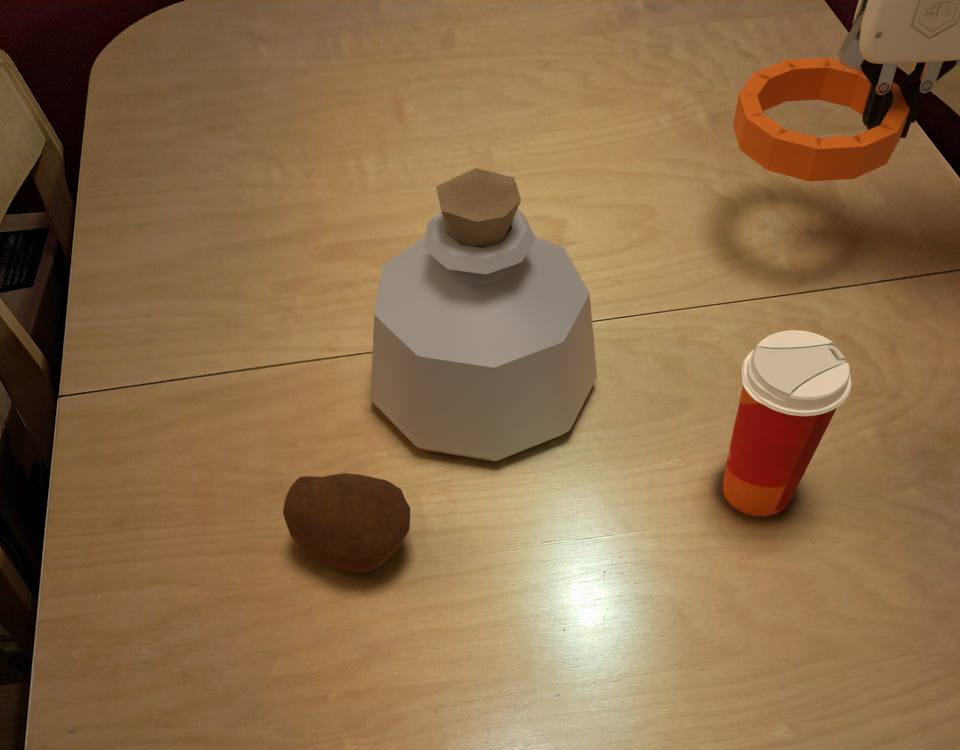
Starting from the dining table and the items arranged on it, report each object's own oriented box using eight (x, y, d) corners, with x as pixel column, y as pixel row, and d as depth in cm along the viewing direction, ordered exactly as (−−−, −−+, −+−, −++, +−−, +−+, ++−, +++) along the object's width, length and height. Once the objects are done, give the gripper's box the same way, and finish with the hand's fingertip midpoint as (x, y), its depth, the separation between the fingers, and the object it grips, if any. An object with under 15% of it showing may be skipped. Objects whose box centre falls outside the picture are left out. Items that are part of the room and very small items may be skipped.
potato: (299, 513, 80) (281, 447, 73) (418, 517, 80) (411, 451, 73) (286, 587, 76) (265, 525, 69) (410, 591, 76) (402, 529, 69)
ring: (874, 87, 92) (884, 54, 89) (913, 176, 84) (925, 143, 82) (723, 95, 92) (729, 62, 89) (749, 184, 84) (756, 151, 82)
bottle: (596, 474, 81) (620, 288, 65) (363, 468, 82) (330, 282, 66) (594, 313, 92) (614, 117, 76) (387, 308, 93) (364, 114, 77)
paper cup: (776, 447, 83) (823, 314, 71) (820, 514, 79) (877, 386, 67) (692, 470, 82) (725, 339, 70) (732, 539, 78) (775, 414, 66)
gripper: (867, -82, 71) (805, 158, 86) (1086, -94, 70) (984, 150, 86) (845, -127, 74) (789, 111, 90) (1052, -138, 74) (960, 103, 90)
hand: (885, 129), depth 88 cm, fingers closed on ring
